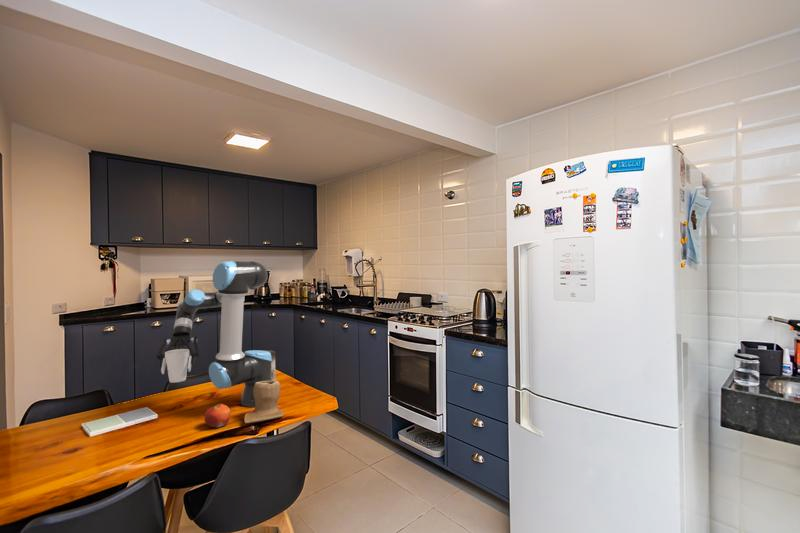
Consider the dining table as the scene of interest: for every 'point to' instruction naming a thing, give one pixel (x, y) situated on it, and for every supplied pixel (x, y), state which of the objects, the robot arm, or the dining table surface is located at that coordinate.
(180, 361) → the foam cup
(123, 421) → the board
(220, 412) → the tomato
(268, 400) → the stone cup
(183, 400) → the dining table surface
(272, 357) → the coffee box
